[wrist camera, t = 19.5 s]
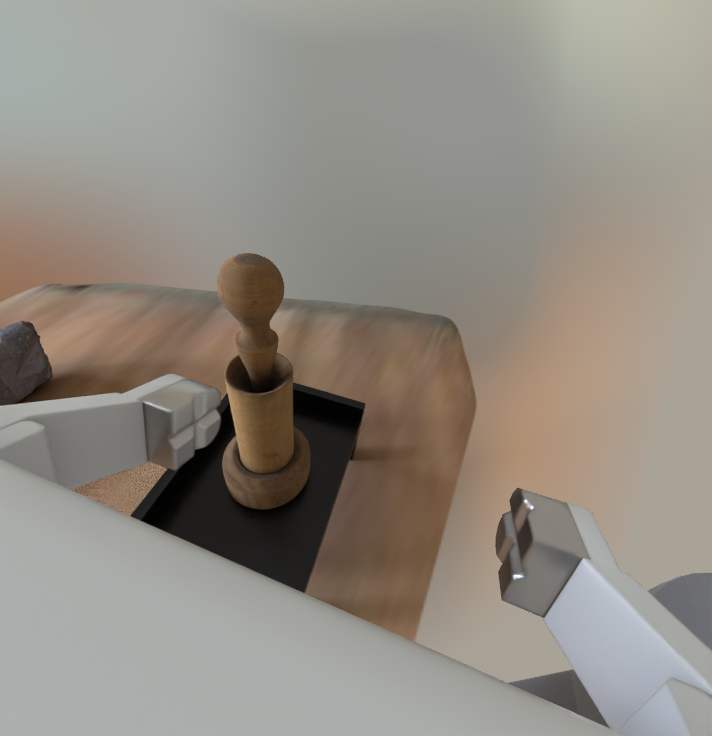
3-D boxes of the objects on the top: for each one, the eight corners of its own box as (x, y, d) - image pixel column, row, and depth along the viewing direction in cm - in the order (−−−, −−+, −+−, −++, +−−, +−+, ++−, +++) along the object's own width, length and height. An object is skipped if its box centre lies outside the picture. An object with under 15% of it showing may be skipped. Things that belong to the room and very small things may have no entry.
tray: (354, 451, 36) (365, 403, 31) (298, 627, 25) (299, 599, 19) (253, 420, 38) (246, 368, 32) (153, 573, 26) (116, 532, 20)
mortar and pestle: (265, 424, 30) (246, 220, 18) (325, 459, 28) (349, 258, 16) (207, 481, 26) (129, 260, 13) (274, 528, 24) (254, 319, 12)
